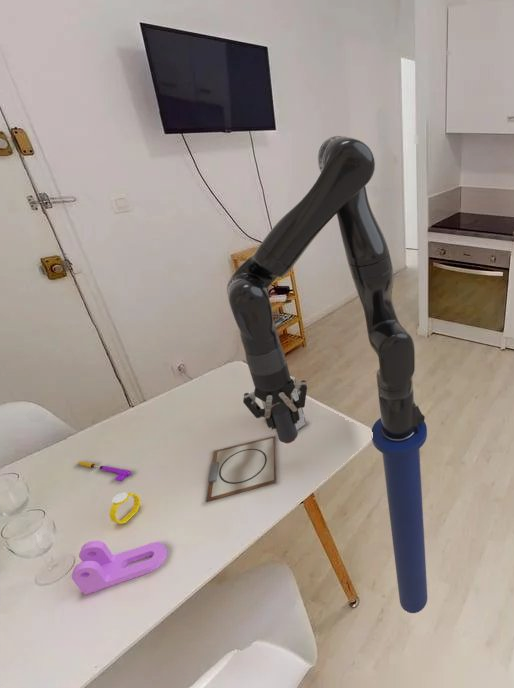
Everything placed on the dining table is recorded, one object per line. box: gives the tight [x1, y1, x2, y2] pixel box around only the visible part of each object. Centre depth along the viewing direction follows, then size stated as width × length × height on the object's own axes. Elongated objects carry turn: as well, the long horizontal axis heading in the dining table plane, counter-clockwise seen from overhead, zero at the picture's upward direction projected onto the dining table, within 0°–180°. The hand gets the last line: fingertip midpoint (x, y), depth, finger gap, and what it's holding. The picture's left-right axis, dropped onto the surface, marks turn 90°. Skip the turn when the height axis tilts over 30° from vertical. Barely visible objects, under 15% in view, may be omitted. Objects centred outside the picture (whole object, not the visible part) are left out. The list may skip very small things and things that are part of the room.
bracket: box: [70, 540, 168, 596], centre depth 78 cm, size 13×6×7 cm, turn 112°
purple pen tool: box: [77, 461, 132, 482], centre depth 100 cm, size 3×1×16 cm
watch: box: [109, 492, 141, 525], centre depth 88 cm, size 6×3×6 cm, turn 169°
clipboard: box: [205, 435, 277, 503], centre depth 100 cm, size 15×16×1 cm
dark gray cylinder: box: [271, 402, 299, 444], centre depth 95 cm, size 4×4×10 cm
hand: (284, 423), depth 95 cm, fingers closed on dark gray cylinder, 4 cm apart
